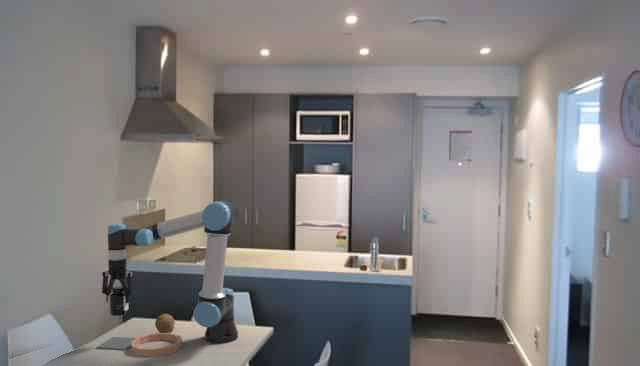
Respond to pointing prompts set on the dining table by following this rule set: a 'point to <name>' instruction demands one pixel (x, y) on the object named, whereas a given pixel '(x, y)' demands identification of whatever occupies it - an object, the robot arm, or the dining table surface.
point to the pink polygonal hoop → (156, 351)
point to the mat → (117, 343)
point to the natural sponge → (165, 323)
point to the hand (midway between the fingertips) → (118, 309)
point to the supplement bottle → (117, 301)
